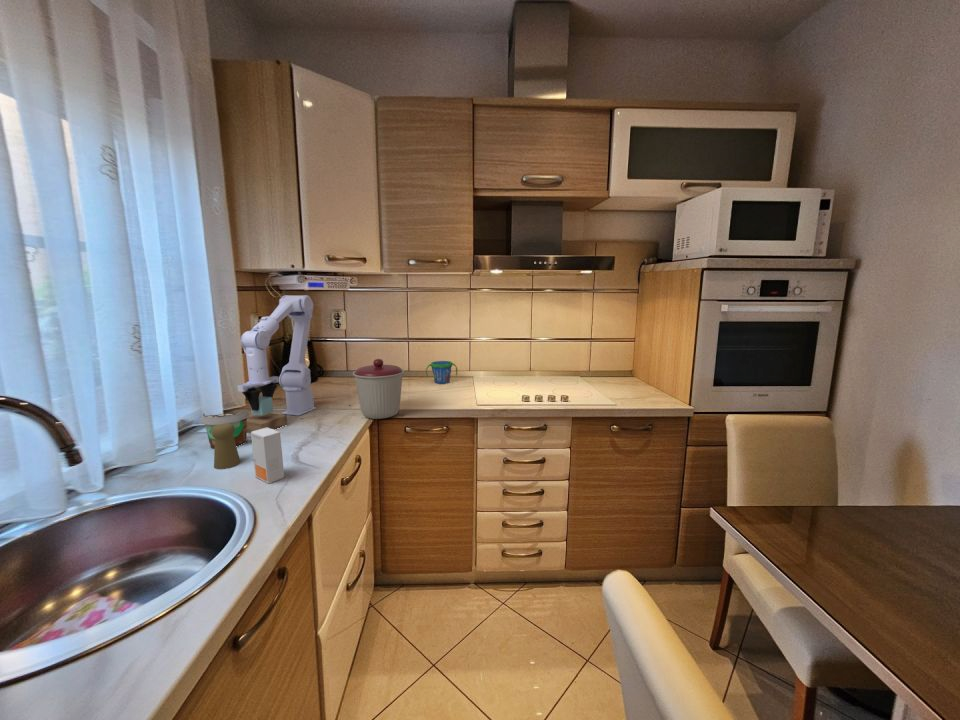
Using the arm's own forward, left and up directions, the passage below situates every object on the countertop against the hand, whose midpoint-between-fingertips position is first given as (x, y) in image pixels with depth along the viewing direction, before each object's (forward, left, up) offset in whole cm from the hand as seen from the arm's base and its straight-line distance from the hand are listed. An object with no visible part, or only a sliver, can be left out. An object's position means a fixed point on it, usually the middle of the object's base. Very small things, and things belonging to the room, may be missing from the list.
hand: (261, 407), depth 131 cm
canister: (-24, +30, -7) cm, 39 cm away
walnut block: (0, 0, -8) cm, 8 cm away
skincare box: (+28, +30, -7) cm, 42 cm away
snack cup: (-79, +32, -7) cm, 86 cm away
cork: (+25, +13, -7) cm, 29 cm away
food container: (+16, +2, -7) cm, 18 cm away
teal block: (0, 0, -2) cm, 2 cm away
